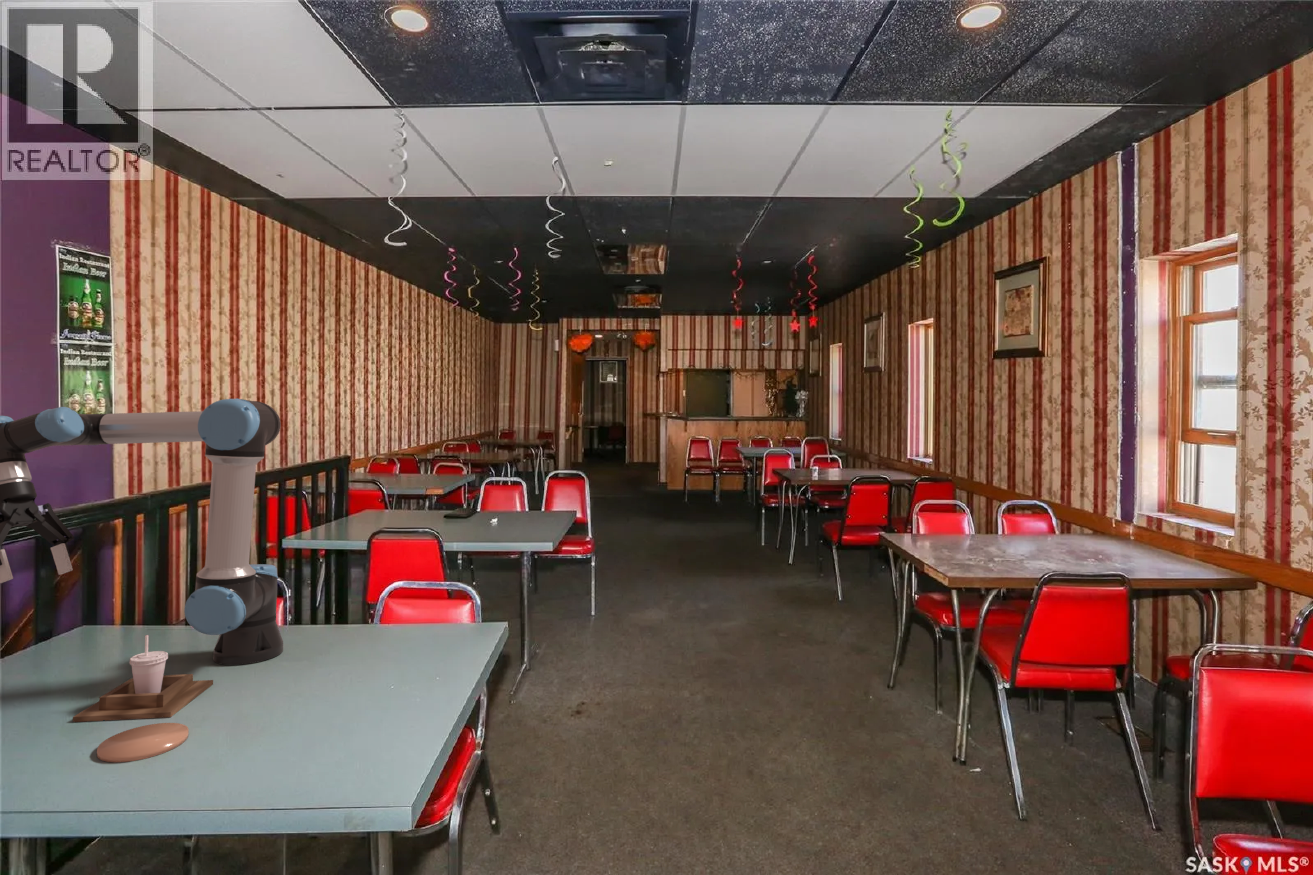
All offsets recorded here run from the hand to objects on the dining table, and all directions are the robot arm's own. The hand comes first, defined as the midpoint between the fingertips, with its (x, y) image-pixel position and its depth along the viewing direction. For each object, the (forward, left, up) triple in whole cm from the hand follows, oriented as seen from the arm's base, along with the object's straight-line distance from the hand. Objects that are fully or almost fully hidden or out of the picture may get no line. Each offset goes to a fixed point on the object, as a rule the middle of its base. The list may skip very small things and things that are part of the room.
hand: (37, 576), depth 140 cm
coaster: (-37, +30, -24) cm, 54 cm away
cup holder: (-27, +10, -24) cm, 38 cm away
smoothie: (-27, +10, -25) cm, 38 cm away
